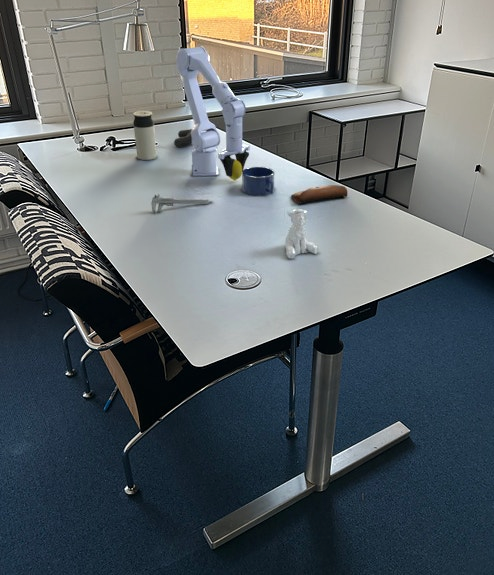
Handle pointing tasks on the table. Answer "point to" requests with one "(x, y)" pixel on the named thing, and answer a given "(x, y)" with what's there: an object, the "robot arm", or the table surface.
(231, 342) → the table surface
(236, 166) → the lemon
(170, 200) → the caliper
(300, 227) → the sitting furry creature
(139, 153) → the travel mug
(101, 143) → the table surface
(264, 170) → the blue mug
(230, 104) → the robot arm
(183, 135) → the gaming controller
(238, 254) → the table surface
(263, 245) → the table surface
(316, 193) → the sunglasses case
